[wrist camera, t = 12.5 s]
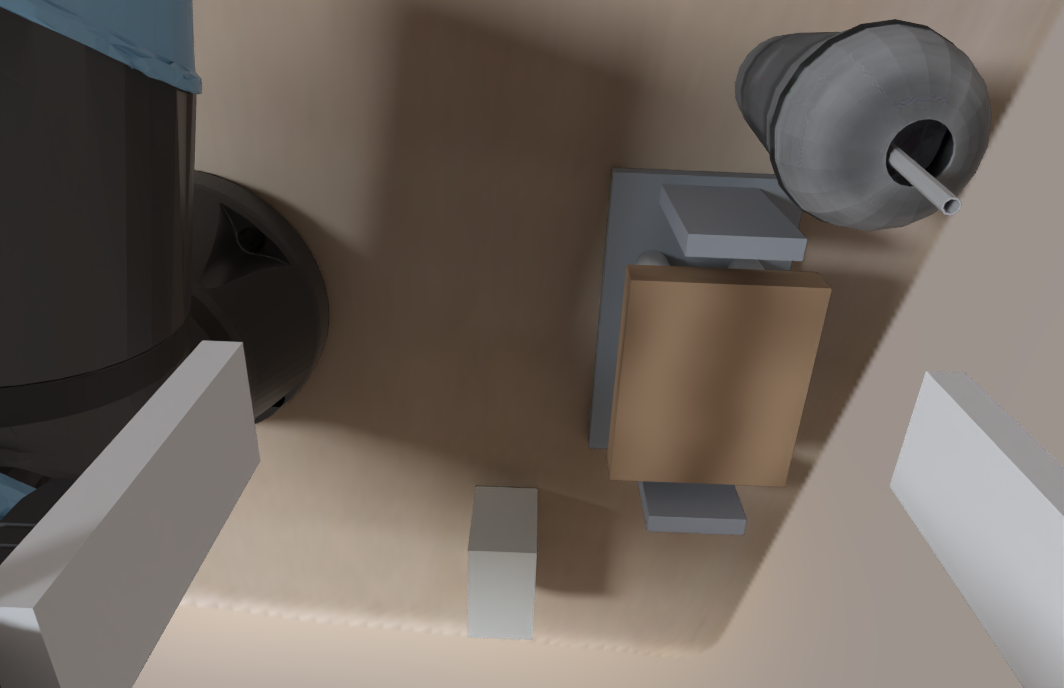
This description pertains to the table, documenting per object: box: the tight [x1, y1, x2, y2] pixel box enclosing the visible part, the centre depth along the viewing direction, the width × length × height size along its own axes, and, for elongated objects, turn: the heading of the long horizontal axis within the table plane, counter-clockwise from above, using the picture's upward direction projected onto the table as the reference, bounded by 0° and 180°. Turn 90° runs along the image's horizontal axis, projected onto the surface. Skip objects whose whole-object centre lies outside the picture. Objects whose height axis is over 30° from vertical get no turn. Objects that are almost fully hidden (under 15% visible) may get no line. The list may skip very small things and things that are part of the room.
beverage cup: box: [735, 19, 992, 231], centre depth 28 cm, size 7×7×20 cm
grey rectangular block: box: [468, 486, 537, 640], centre depth 48 cm, size 4×7×6 cm, turn 178°
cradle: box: [588, 168, 807, 535], centre depth 39 cm, size 10×17×9 cm, turn 178°
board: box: [607, 264, 832, 487], centre depth 37 cm, size 9×11×2 cm
